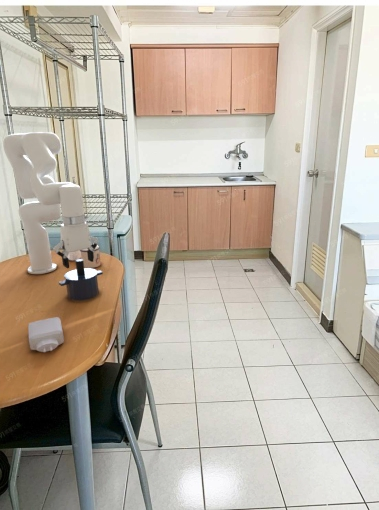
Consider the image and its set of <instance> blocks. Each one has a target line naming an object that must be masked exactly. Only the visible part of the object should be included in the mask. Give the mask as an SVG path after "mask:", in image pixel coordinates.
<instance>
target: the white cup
mask: <svg viewBox="0 0 379 510" xmlns="http://www.w3.org/2000/svg"><path fill="white" fill-rule="evenodd" d="M67 258H68V260H69V261H76V260H78V259H81V253H80V250H78V251H74V252H69V254H68V256H67Z"/></svg>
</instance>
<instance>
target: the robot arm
mask: <svg viewBox="0 0 379 510" xmlns="http://www.w3.org/2000/svg"><path fill="white" fill-rule="evenodd" d="M2 142H3V143H2V145H3V151H4V154H5V157H6V158H7V160H8V161H9V163H10V166H11V168H12V172H13V177H14V181H15V185H16V189H17V193H18V195H19V197H20V199H22V200H34V199H36V200H37V201H30V202H26V203H23V204H21V205H20V206H19V208H18V216H19V220H20V221H21V224H22V227H23V232H24V238H25V242H26V248H27V254H28V259H29V264H30V266H28V268H27V273H29V274H31V275H43V274H48V273H51V272H54V271H55V270H56V269H57V268H58V267H57V264H56V263H54V262H53V257H52V250H53V251H54V252H55V254H56V255H58V256H59V257H61V261H62V266H63V267H64V268H65V269H70V260H68V258H67V256H68V254H69V252H74V251H78V250H82V249H88V250H87V254H88V260H89V261H91V262H93V259H94V254H93V252H94V249H95V248H96V246H97V245H98V243H99V240H100V239H99V238H98V237H95V236H92V235H91V231H90V228H89V225H88V222H87V221H86V219H88V218H89V215H88V214H85V209H84V199H83V191H82V188H81V186H80V185H78V184H75V183H72V182H70V181H64V182H63V181H62V182H55V180H54V179H53V177H51V176H50V175H49V174H51V173H52V172H54V170H55V169H56V168H57V166H58V165H57V164H58V162H57V159H56V157H55V156H54V155H58V154H60V153H61V151H62V148H63V147H62V142H61V139H60V137H59V136H58V135H57V134H56V133H54V132H51V131H50V132H47V131H45V132H44V131H43V132H42V131H38V132H37V131H36V132H35V131H34V132H33V131H32V132H27V133H12V134H8V135H6V136H5V137H4V138H3V140H2ZM61 217H62V224H60V241H59V242H58V243H57V244H56V245H54V246H53V247H52V250H51V244H50V239H49V232H48V231H47V229H46V228H45V227H44V226H43V225H42V223H48V222H53V221H58V220H59V219H60V218H61ZM91 244H92V245H91ZM60 249H61V250H62V251H61V250H60Z"/></svg>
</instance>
